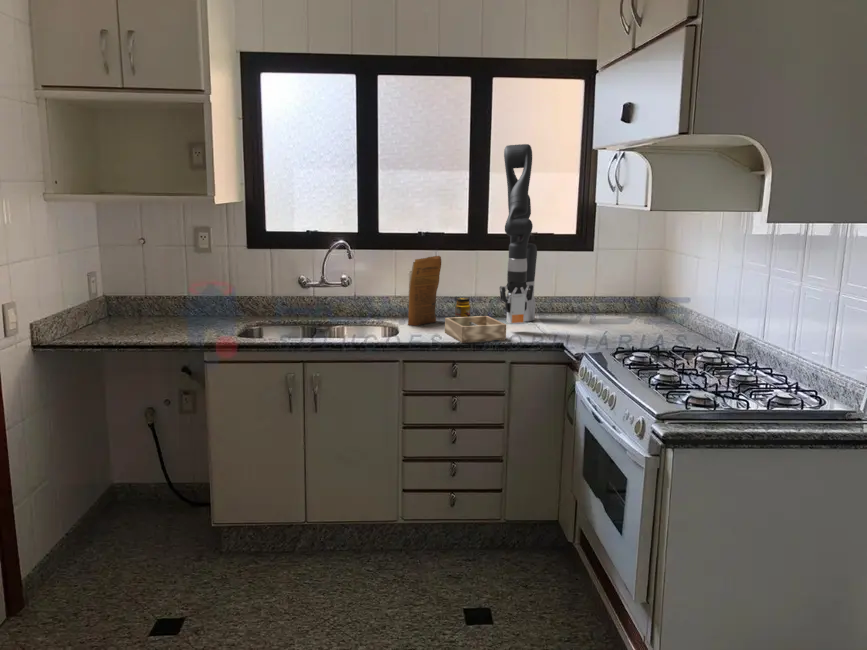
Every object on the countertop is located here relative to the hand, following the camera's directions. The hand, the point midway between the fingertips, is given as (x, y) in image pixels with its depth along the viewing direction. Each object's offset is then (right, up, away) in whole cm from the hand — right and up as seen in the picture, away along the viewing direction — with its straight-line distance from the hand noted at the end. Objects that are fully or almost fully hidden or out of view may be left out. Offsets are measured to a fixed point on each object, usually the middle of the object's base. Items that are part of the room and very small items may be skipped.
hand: (515, 311), depth 287 cm
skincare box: (0, -5, +1) cm, 5 cm away
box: (-17, -10, -7) cm, 21 cm away
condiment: (-22, -7, +10) cm, 25 cm away
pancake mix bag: (-37, -5, +16) cm, 40 cm away
